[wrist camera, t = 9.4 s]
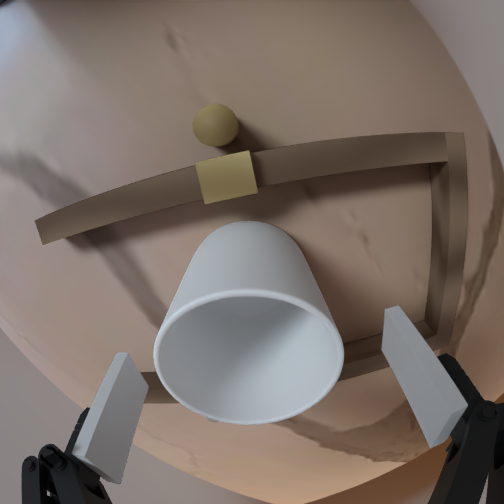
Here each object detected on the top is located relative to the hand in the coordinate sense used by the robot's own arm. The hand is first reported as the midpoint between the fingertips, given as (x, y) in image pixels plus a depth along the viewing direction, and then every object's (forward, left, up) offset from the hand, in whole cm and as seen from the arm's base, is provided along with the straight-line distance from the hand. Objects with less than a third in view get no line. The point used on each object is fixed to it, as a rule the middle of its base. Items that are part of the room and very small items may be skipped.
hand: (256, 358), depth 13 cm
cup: (+1, -1, -9) cm, 9 cm away
